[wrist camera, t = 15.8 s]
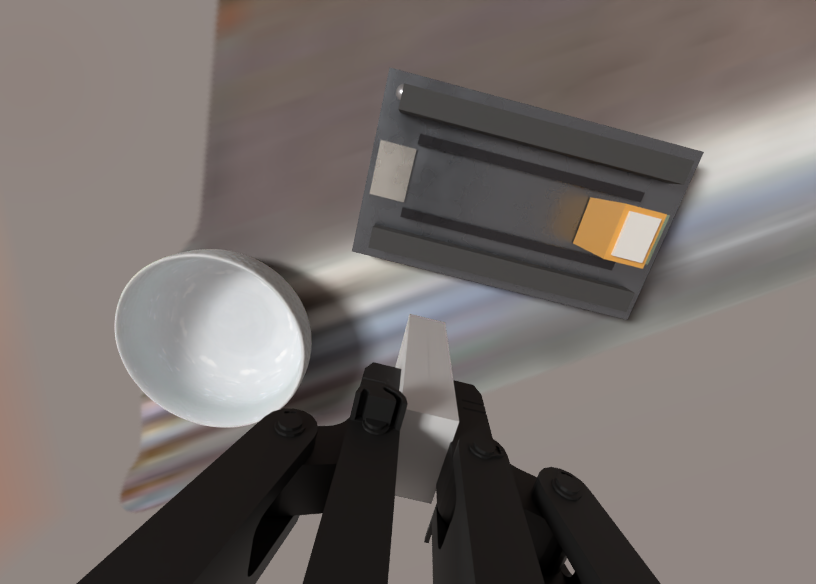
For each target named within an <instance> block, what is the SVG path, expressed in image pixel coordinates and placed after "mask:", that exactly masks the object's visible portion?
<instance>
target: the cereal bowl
mask: <svg viewBox="0 0 816 584" xmlns="http://www.w3.org/2000/svg"><path fill="white" fill-rule="evenodd" d="M115 339H116V343H117V347H118V351H119V354H120V357H121V359H122V361H123V363H124V365H125V367H126V369H127V371H128V373H129V374H130V376H131V377H132V379H133V380H134V381H135V383H136V384H137V385H138V386H139V387H140V389H141V390H142V391H143V392H144V393H145V394H146V395H147V396H148V397H149V398H150V399H152V400H153V401H154V402H155V403H157V404H158V405H159V406H161V407H162V408H164V409H165V410H167V411H169V412H170V413H172V414H174V415H176V416H178V417H180V418H183V419H185V420H188V421H191V422H194V423H197V424H201V425H205V426H211V427H240V426H245V425H250V424H253V423H256V422H259V421H260V420H261V419H262V418H264V417H265V416H266V415H268V414H269V413H271V412H273V411H276V410H280V409H281V408H282V407H284V406H285V405H286V404H287V403H288V402H289V400H290V399H291V398H292V397H293V395H294V394H295V393H296V391H297V389H298V388H299V386H300V384H301V382H302V380H303V377H304V375H305V374H306V370H307V368H308V364H309V360H310V354H311V345H312V342H311V330H310V323H309V320H308V316H307V313H306V311H305V308H304V307H303V304H302V302H301V301H300V298H299V297H298V295H297V293H295V291H294V289H292V287H291V285H289V283H288V282H286V281H285V279H284V278H283V277H281V275H280V274H278V273H277V272H276V271H274V270H273V269H272V268H271V267H268V266H267V265H266V264H264V263H262V262H260V261H258V260H257V259H254V258H252V257H250V256H247V255H244V254H241V253H237V252H233V251H228V250H219V249H202V250H192V251H187V252H183V253H178V254H175V255H171V256H169V257H165V258H162V259H160V260H158V261H155V262H153V263H151V264H149V265H148V266H146V267H145V268H143V269H142V270H140V271H139V272H138V273H137V274H136V275H135V276H134V277H133V278H132V279H131V280H130V281H129V282H128V284H127V285H126V287H125V289H124V290H123V292H122V294H121V297H120V300H119V302H118V305H117V310H116V315H115Z"/></svg>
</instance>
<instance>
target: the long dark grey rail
mask: <svg viewBox="0 0 816 584" xmlns="http://www.w3.org/2000/svg"><path fill="white" fill-rule="evenodd" d="M398 109H399V111H400V112H401V113H405V114H409V115H413V116H417V117H420V118H424V119H428V120H432V121H435V122H439V123H443V124H447V125H451V126H454V127H458V128H462V129H466V130H469V131H473V132H477V133H481V134H485V135H488V136H492V137H496V138H500V139H503V140H507V141H511V142H515V143H518V144H522V145H526V146H530V147H534V148H537V149H541V150H545V151H549V152H552V153H556V154H560V155H564V156H568V157H571V158H575V159H579V160H583V161H586V162H590V163H594V164H598V165H602V166H605V167H609V168H613V169H617V170H620V171H624V172H628V173H632V174H636V175H639V176H643V177H647V178H651V179H654V180H658V181H662V182H666V183H670V184H683V185H684V184H685V181H686V179H687V177H688V175H689V172H690V170H691V168H692V166H693V164H694V161H693V160H689V159H685V158H682V157H678V156H674V155H670V154H667V153H663V152H659V151H655V150H652V149H648V148H644V147H640V146H637V145H633V144H629V143H626V142H622V141H618V140H614V139H611V138H607V137H603V136H599V135H596V134H592V133H588V132H585V131H581V130H577V129H573V128H570V127H566V126H562V125H558V124H555V123H551V122H547V121H543V120H540V119H536V118H532V117H529V116H525V115H521V114H517V113H514V112H510V111H506V110H502V109H499V108H495V107H491V106H487V105H484V104H480V103H476V102H473V101H469V100H465V99H461V98H458V97H454V96H450V95H446V94H443V93H439V92H435V91H432V90H428V89H424V88H420V87H417V86H413V85H409V84H405V83H404V85H403V90H402V95H401V99H400V104H399V108H398Z"/></svg>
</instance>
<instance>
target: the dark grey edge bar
mask: <svg viewBox="0 0 816 584" xmlns="http://www.w3.org/2000/svg"><path fill="white" fill-rule="evenodd" d="M368 248H372V249H376V250H380V251H384V252H388V253H392V254H396V255H400V256H404V257H408V258H412V259H416V260H420V261H424V262H428V263H432V264H436V265H440V266H444V267H448V268H452V269H456V270H460V271H464V272H468V273H472V274H476V275H480V276H484V277H488V278H492V279H496V280H500V281H504V282H508V283H512V284H516V285H520V286H524V287H528V288H532V289H536V290H540V291H544V292H548V293H552V294H556V295H560V296H564V297H568V298H572V299H576V300H580V301H584V302H588V303H592V304H596V305H600V306H604V307H608V308H612V309H616V310H620V311H624V312H627V310H628V307H629V305H630V303H631V301H632V299H633V296H634V294H635V293H634V292H633V291H631V290H629V289H627V288H626V287H623V286H619V285H615V284H612V283H608V282H604V281H600V280H596V279H592V278H588V277H584V276H580V275H576V274H572V273H568V272H564V271H560V270H556V269H552V268H548V267H544V266H540V265H536V264H532V263H528V262H524V261H520V260H516V259H513V258H509V257H505V256H501V255H497V254H493V253H489V252H485V251H481V250H477V249H473V248H469V247H465V246H461V245H457V244H453V243H449V242H445V241H441V240H437V239H433V238H429V237H425V236H421V235H417V234H414V233H410V232H406V231H402V230H398V229H394V228H390V227H386V226H382V225H378V224H375V225H374V226H373V228H372V232H371V237H370V241H369V246H368Z"/></svg>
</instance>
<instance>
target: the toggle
mask: <svg viewBox="0 0 816 584" xmlns="http://www.w3.org/2000/svg"><path fill="white" fill-rule="evenodd" d="M666 216H667V214H664V213H660V212H656V211H652V210H648V209H645V208H641V207H637V206H633V205H629V204H625V203H620V202H614V201H608V200H603V199H597V198H592V197H590V200H589V203H588V205H587V208H586V210H585V213H584V216H583V218H582V221H581V223H580V226H579V229H578V231H577V234H576V236H575V239H574V242H573V244H575V245H577V246H579V247H581V248H583V249H585V250H587V251H589V252H591V253H593V254H595V255H597V256H599V257H601V258H603V259H606V260H610V261H614V262H618V263H622V264H626V265H630V266H634V267H638V268H642V269H643V267H644V265H645V263H646V261H647V258H648V256H649V254H650V252H651V249H652V247H653V245H654V243H655V241H656V238H657V236H658V234H659V232H660V229H661V227H662V225H663V223H664V221H665V218H666Z"/></svg>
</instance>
